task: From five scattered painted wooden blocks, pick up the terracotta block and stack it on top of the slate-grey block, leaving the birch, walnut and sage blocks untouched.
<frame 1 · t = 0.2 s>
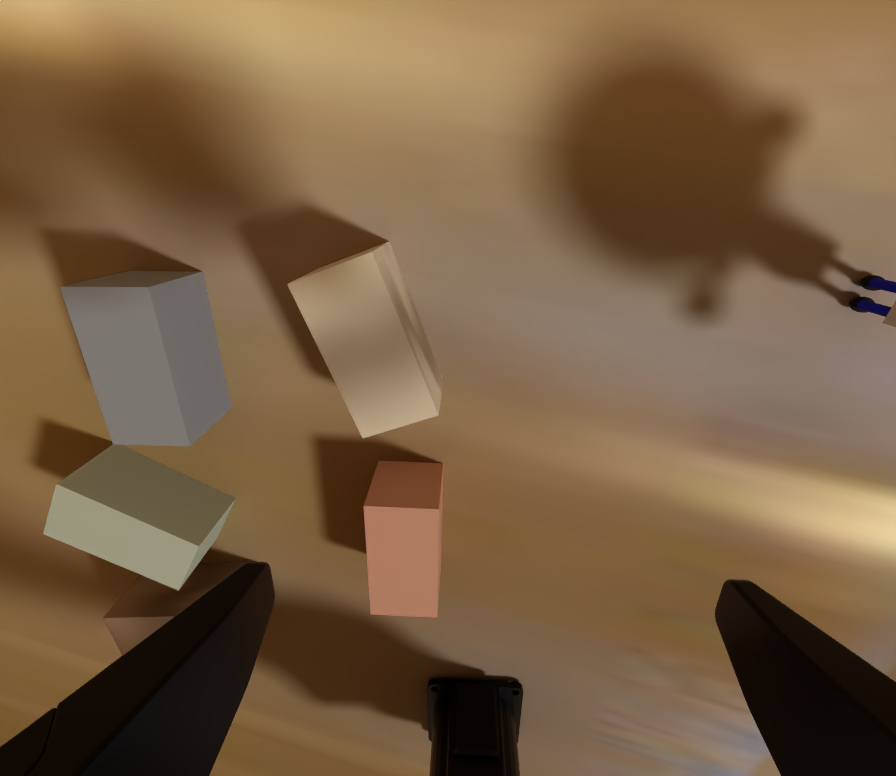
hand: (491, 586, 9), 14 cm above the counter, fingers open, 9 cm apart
terracotta block: (411, 512, 26), on the counter
slate block: (185, 342, 22), on the counter
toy: (852, 288, 20), on the counter
sage block: (169, 491, 26), on the counter
birch block: (384, 325, 22), on the counter
walnut block: (211, 582, 29), on the counter
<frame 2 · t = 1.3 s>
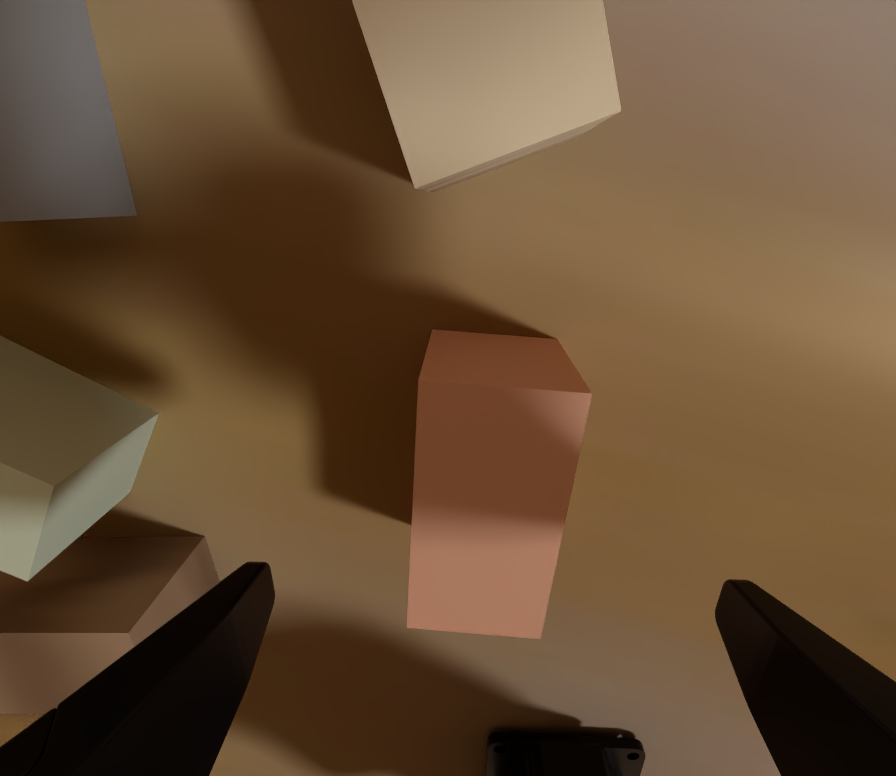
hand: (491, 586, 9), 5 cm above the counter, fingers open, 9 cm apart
terracotta block: (482, 440, 14), on the counter
slate block: (30, 55, 11), on the counter
sage block: (39, 401, 14), on the counter
walnut block: (128, 571, 17), on the counter
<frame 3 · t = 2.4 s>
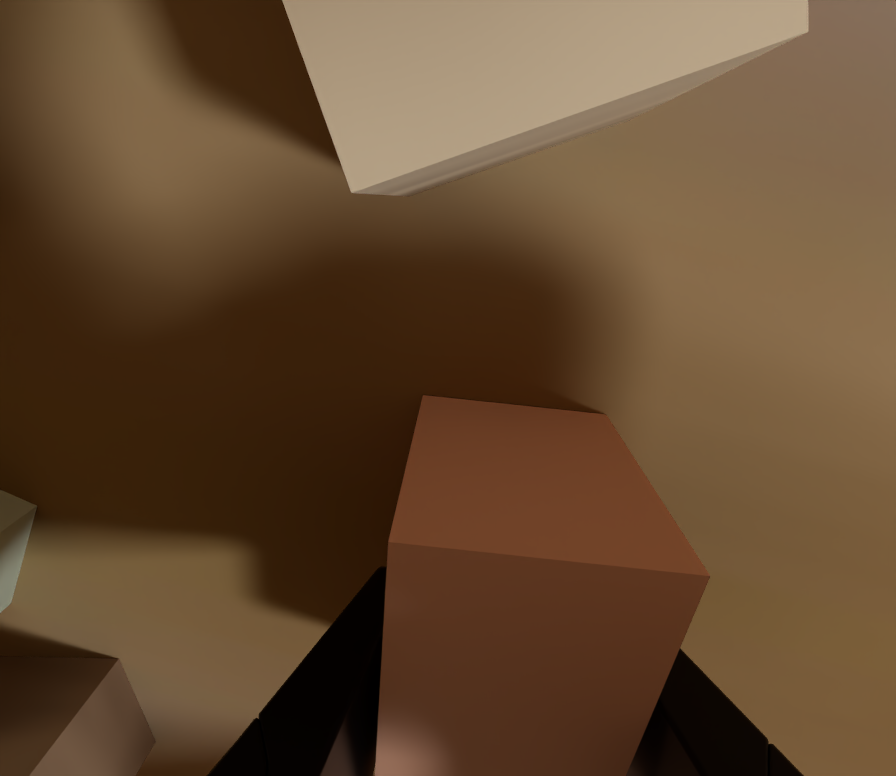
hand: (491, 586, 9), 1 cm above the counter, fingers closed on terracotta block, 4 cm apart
terracotta block: (490, 548, 10), on the counter, touching gripper
walnut block: (23, 693, 13), on the counter
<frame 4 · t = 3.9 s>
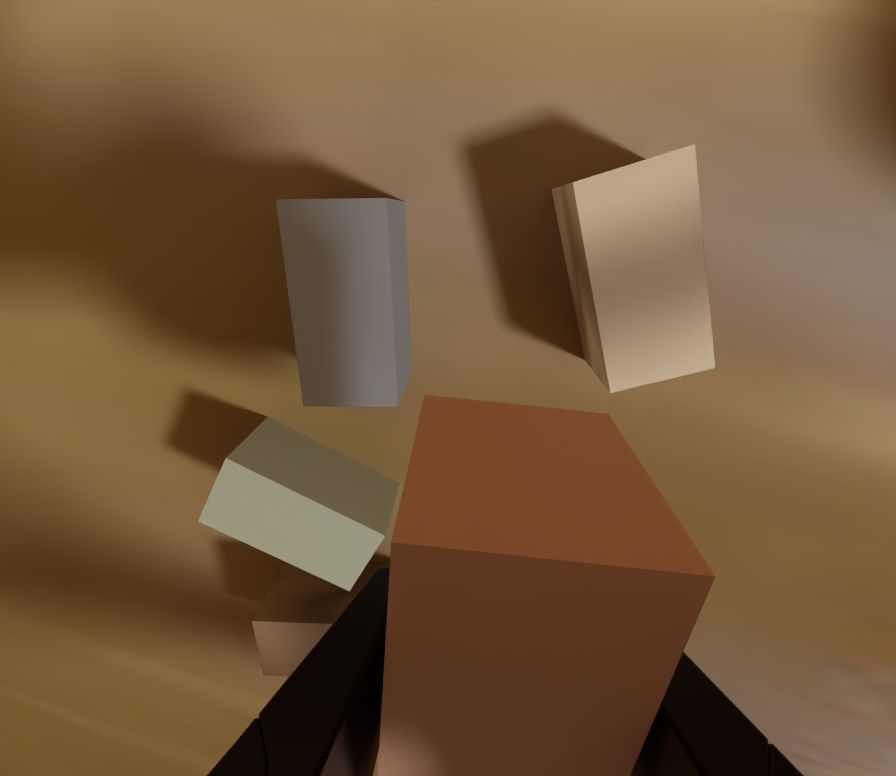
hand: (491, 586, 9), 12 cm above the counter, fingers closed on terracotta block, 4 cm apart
terracotta block: (492, 548, 10), point 11 cm above the counter, touching gripper
slate block: (367, 292, 19), on the counter
sage block: (321, 476, 22), on the counter
birch block: (611, 267, 18), on the counter
walnut block: (352, 585, 25), on the counter
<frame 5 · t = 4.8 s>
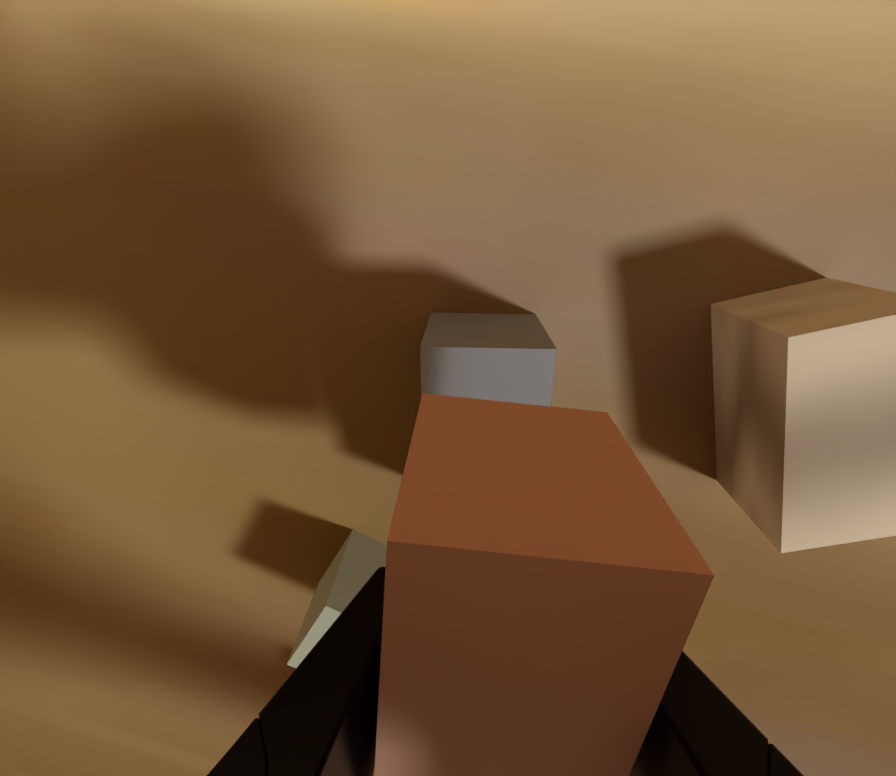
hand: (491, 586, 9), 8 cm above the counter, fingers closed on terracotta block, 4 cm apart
terracotta block: (490, 547, 10), point 7 cm above the counter, touching gripper
slate block: (479, 405, 17), on the counter
sage block: (406, 587, 20), on the counter
birch block: (763, 387, 16), on the counter
when the fingers open (6 cm above the counter, at t = 5.4 s): terracotta block drops 1 cm, resting on slate block.
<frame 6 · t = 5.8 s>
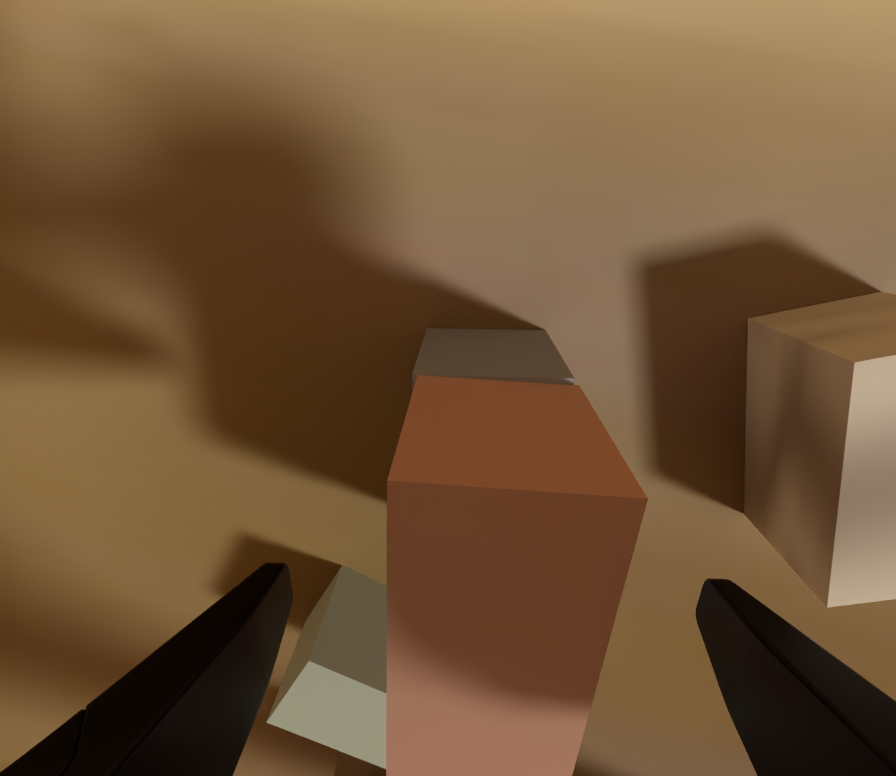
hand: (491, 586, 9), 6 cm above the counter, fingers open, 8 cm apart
terracotta block: (484, 512, 11), point 4 cm above the counter, touching slate block
slate block: (481, 432, 15), on the counter, touching terracotta block
sage block: (401, 626, 18), on the counter
birch block: (802, 412, 14), on the counter
walnut block: (426, 733, 21), on the counter
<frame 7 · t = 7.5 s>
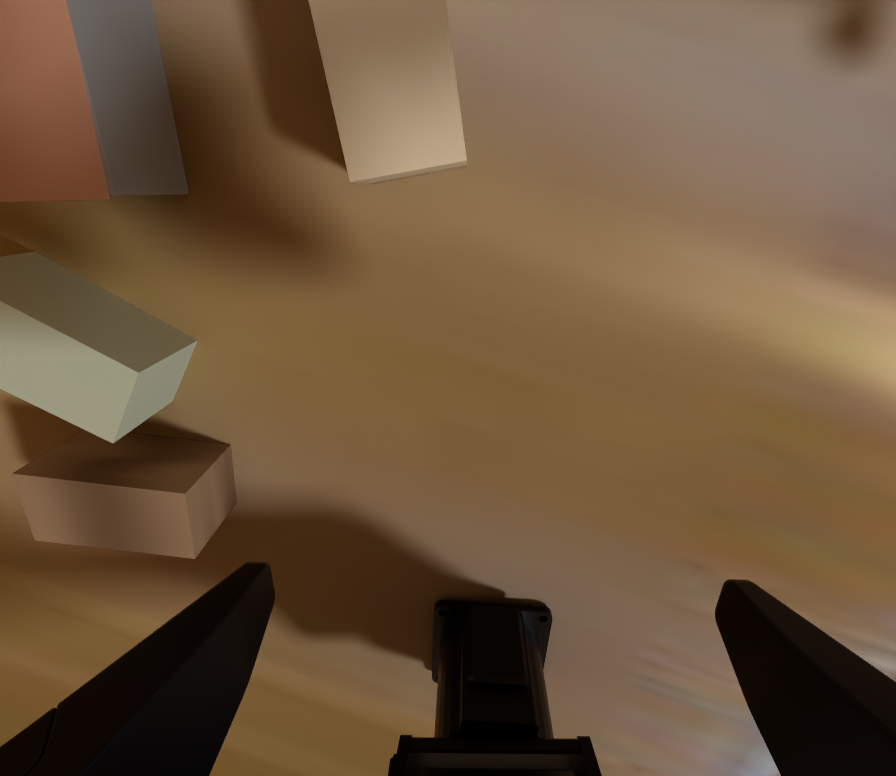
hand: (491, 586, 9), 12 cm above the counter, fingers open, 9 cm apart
terracotta block: (16, 57, 12), point 4 cm above the counter, touching slate block
slate block: (121, 86, 16), on the counter, touching terracotta block
sage block: (110, 330, 20), on the counter
birch block: (401, 64, 15), on the counter
walnut block: (165, 464, 23), on the counter
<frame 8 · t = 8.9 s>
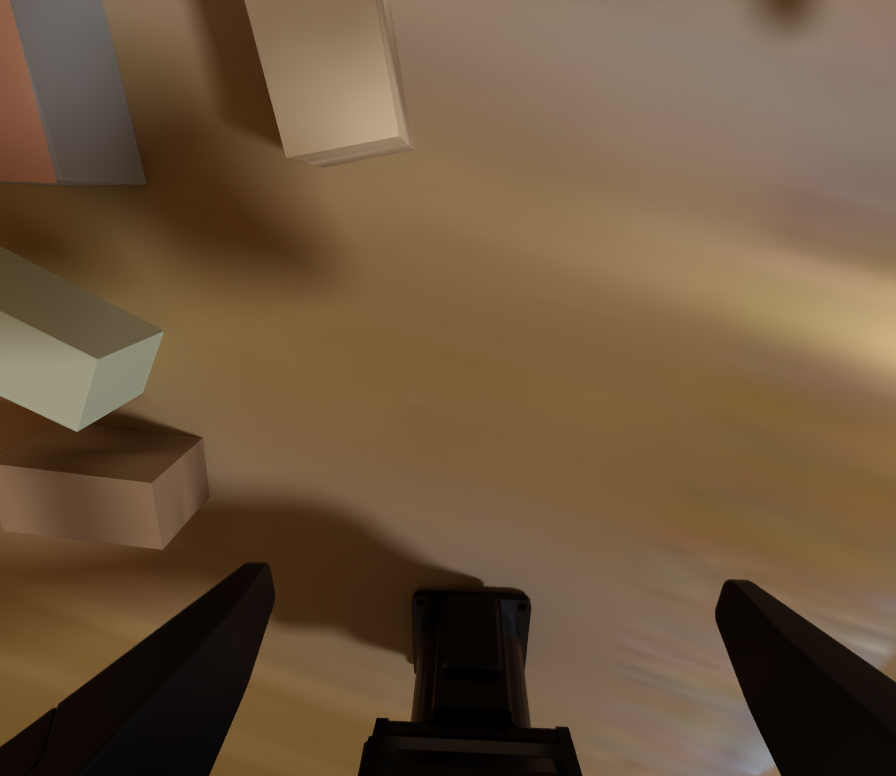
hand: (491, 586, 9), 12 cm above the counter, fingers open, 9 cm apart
slate block: (76, 80, 16), on the counter, touching terracotta block
sage block: (79, 323, 20), on the counter
birch block: (347, 49, 16), on the counter
walnut block: (138, 458, 23), on the counter
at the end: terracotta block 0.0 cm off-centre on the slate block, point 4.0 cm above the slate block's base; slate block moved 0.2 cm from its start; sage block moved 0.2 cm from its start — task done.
